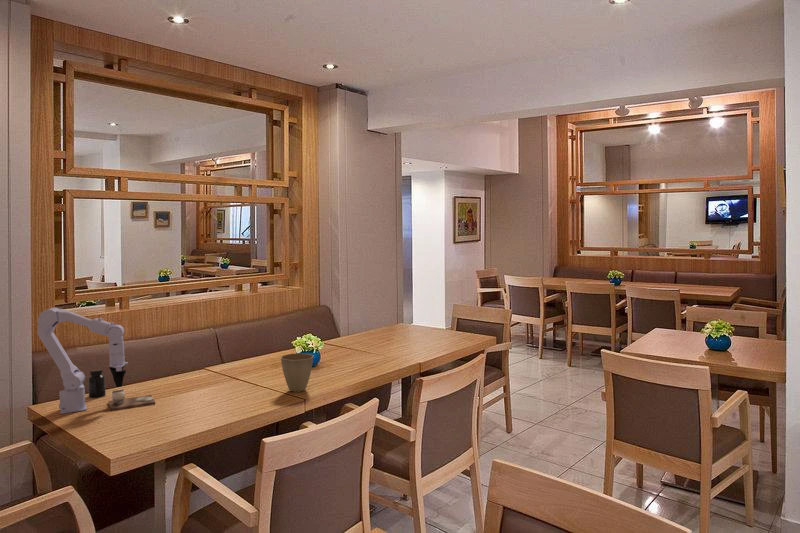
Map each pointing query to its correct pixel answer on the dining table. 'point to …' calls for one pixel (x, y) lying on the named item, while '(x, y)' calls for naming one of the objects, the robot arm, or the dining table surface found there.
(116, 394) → the knob
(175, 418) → the dining table surface
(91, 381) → the supplement bottle
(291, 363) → the plant pot
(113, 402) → the base
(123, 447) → the dining table surface
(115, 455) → the dining table surface
